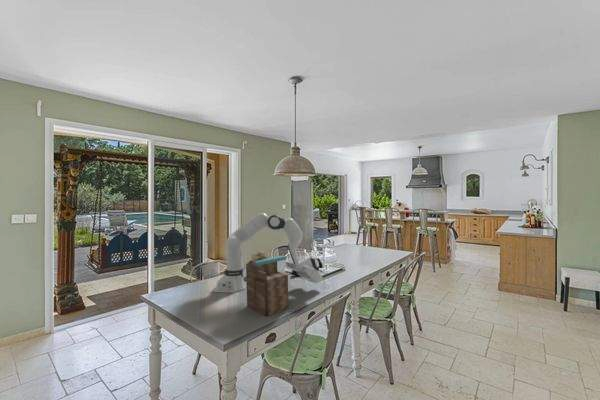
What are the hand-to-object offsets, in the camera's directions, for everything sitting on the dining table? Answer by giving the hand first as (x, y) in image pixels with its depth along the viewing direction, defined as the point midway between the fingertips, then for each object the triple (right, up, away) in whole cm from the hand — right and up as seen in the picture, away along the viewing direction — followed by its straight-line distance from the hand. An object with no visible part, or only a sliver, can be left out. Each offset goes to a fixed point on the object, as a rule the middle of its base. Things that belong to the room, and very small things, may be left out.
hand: (291, 264), depth 187 cm
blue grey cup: (-32, -22, +52) cm, 65 cm away
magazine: (+12, -21, +57) cm, 62 cm away
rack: (-14, -22, -16) cm, 30 cm away
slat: (-12, +4, -11) cm, 17 cm away
